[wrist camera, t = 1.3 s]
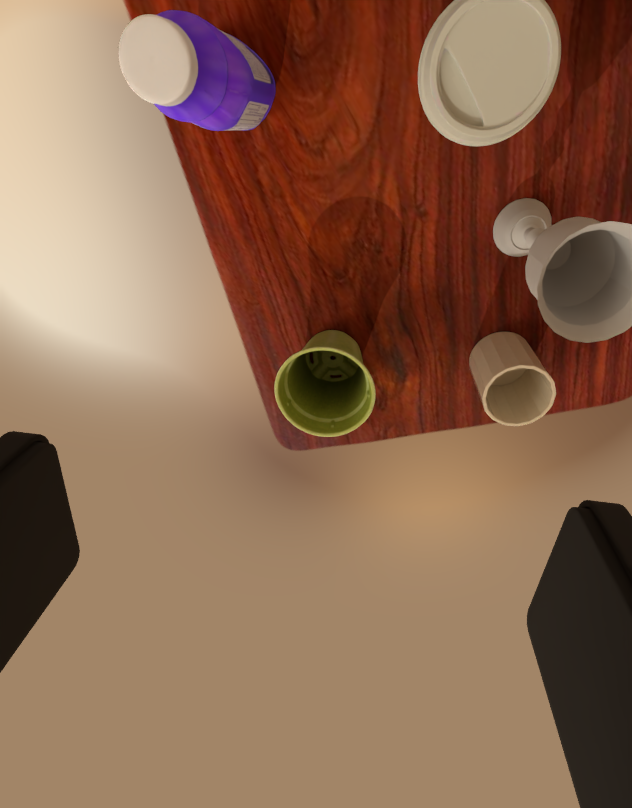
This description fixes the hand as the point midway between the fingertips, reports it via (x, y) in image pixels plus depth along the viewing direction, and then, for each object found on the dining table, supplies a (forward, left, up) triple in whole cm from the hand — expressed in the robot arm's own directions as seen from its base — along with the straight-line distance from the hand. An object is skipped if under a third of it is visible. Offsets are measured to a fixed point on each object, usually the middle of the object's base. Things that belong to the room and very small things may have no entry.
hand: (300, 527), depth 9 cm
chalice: (+1, +14, -42) cm, 44 cm away
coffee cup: (-10, +7, -42) cm, 44 cm away
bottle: (-9, -12, -42) cm, 44 cm away
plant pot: (+16, -2, -42) cm, 45 cm away
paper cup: (+14, +15, -42) cm, 47 cm away
